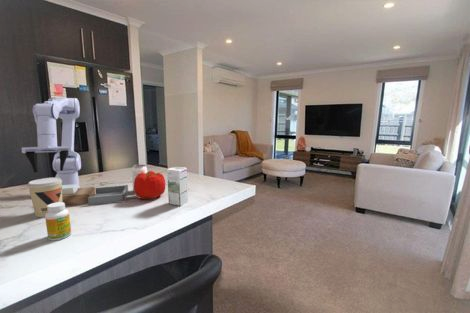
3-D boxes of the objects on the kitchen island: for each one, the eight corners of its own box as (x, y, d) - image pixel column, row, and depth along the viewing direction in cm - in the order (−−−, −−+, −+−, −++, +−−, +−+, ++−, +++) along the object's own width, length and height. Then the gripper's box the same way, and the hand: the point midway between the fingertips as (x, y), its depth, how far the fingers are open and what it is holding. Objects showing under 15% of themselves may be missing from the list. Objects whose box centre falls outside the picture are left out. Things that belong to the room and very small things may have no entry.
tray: (88, 205, 91) (88, 197, 91) (96, 194, 104) (95, 187, 104) (125, 201, 95) (124, 194, 95) (128, 191, 108) (127, 184, 108)
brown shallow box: (50, 207, 89) (49, 197, 88) (60, 198, 98) (59, 189, 97) (90, 203, 93) (89, 193, 92) (95, 195, 102) (94, 186, 102)
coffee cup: (38, 220, 77) (33, 185, 75) (28, 214, 82) (23, 181, 80) (70, 211, 85) (66, 179, 83) (58, 206, 90) (54, 175, 88)
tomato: (162, 201, 95) (160, 177, 93) (128, 202, 94) (127, 177, 92) (169, 191, 108) (168, 169, 107) (140, 191, 108) (138, 169, 106)
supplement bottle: (59, 241, 64) (55, 208, 63) (43, 240, 65) (38, 207, 64) (75, 232, 70) (72, 201, 68) (60, 231, 70) (56, 200, 69)
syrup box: (188, 201, 96) (187, 167, 93) (180, 206, 90) (179, 170, 88) (176, 199, 97) (175, 166, 95) (168, 204, 92) (166, 169, 89)
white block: (57, 195, 91) (56, 189, 90) (62, 190, 96) (61, 185, 95) (73, 193, 92) (73, 187, 92) (77, 189, 98) (77, 184, 97)
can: (143, 193, 105) (141, 167, 103) (130, 192, 107) (128, 166, 105) (150, 189, 112) (149, 164, 110) (138, 188, 113) (137, 164, 111)
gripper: (18, 134, 80) (20, 173, 80) (69, 134, 88) (71, 170, 87) (24, 136, 86) (25, 173, 86) (71, 136, 94) (73, 170, 93)
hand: (49, 171), depth 87 cm, fingers open, 7 cm apart
